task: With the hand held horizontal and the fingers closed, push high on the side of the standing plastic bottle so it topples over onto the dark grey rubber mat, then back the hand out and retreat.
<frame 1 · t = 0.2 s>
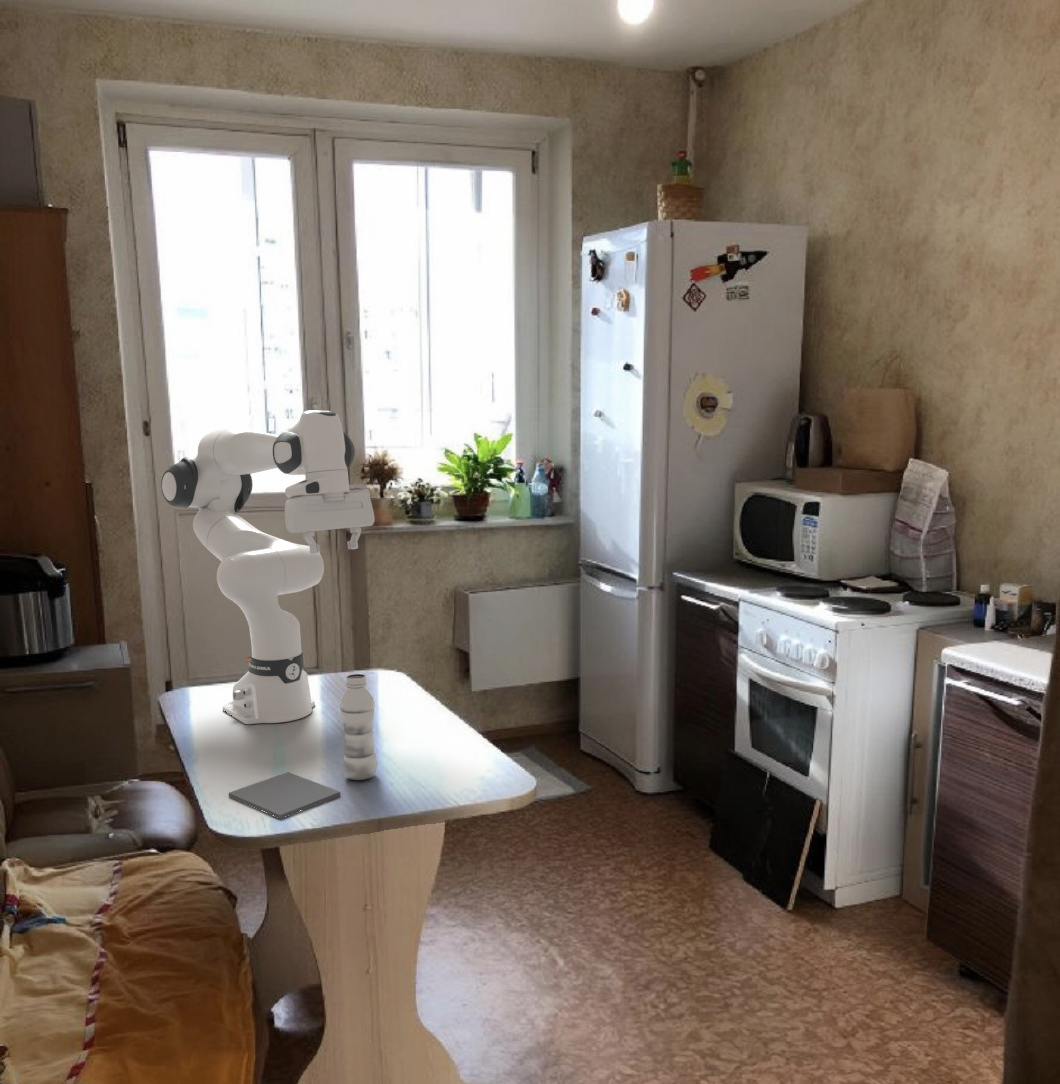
hand: (334, 551, 207), 40 cm above the table, tool pointing down, fingers open, 8 cm apart
mat: (284, 796, 180), on the table
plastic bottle: (360, 778, 188), on the table
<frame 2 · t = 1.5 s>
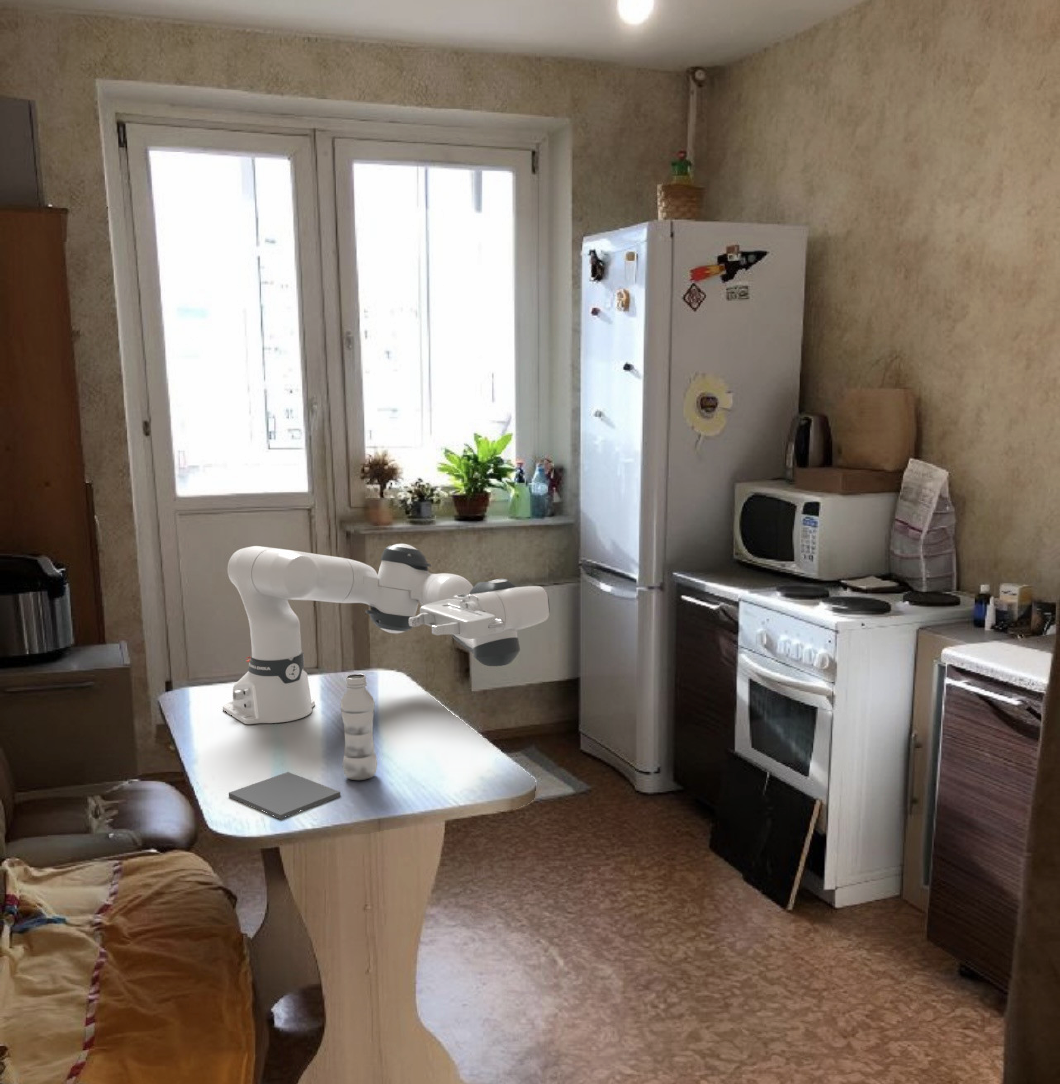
hand: (421, 626, 192), 27 cm above the table, tool horizontal, fingers open, 8 cm apart
nothing on the table moved.
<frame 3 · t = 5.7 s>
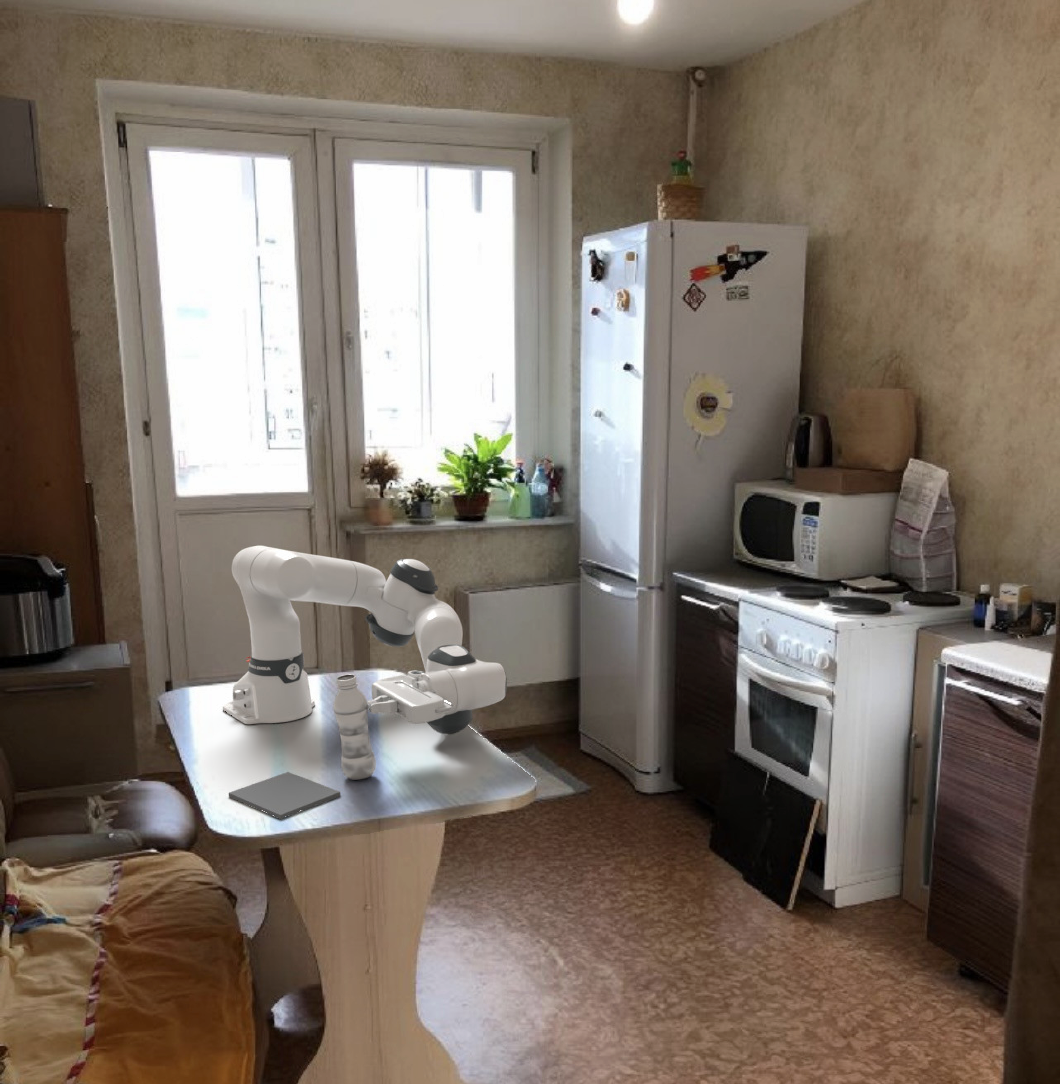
hand: (368, 707, 186), 14 cm above the table, tool horizontal, fingers closed
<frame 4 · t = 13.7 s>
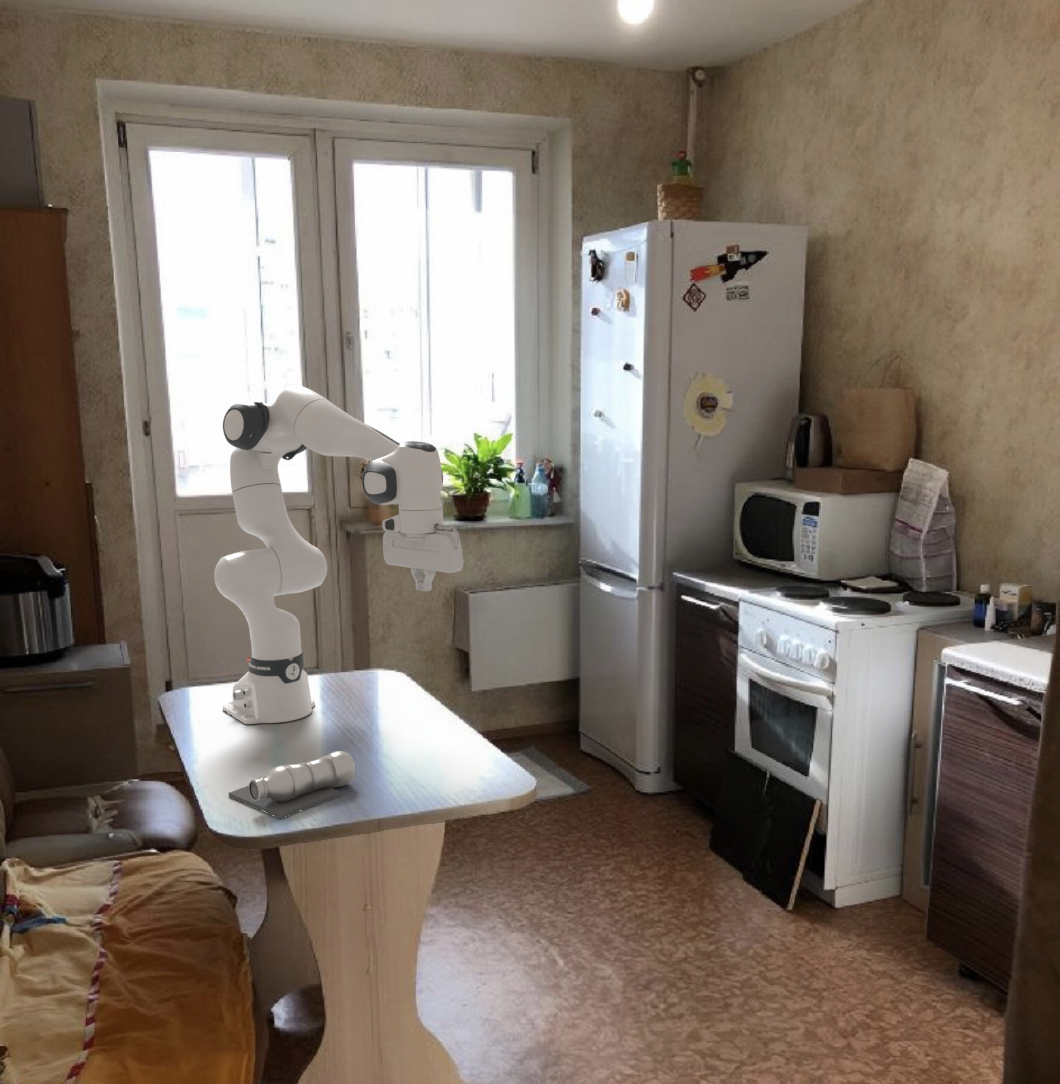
hand: (423, 590, 199), 33 cm above the table, tool pointing down, fingers closed
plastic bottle: (351, 765, 186), point 3 cm above the table, touching mat
at the end: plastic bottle tilted 87°; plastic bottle inside the target area (8.0 cm from its centre), point 3.1 cm above the table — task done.
